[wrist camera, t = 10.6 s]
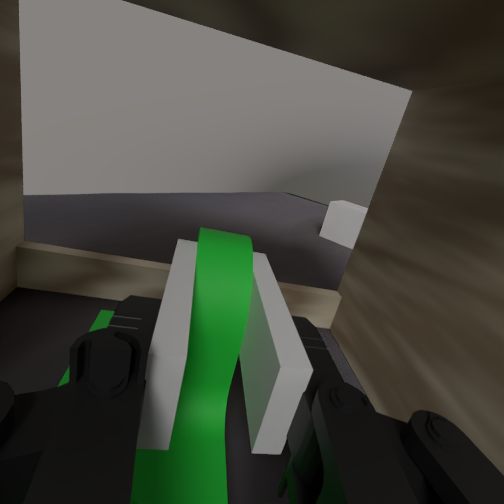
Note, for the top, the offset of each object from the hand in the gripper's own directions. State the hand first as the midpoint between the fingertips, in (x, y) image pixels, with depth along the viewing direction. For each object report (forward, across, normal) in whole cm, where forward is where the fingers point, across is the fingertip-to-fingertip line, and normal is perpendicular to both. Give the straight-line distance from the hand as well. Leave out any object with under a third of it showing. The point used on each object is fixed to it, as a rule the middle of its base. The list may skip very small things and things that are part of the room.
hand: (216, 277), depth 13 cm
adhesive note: (+36, +24, -8) cm, 44 cm away
